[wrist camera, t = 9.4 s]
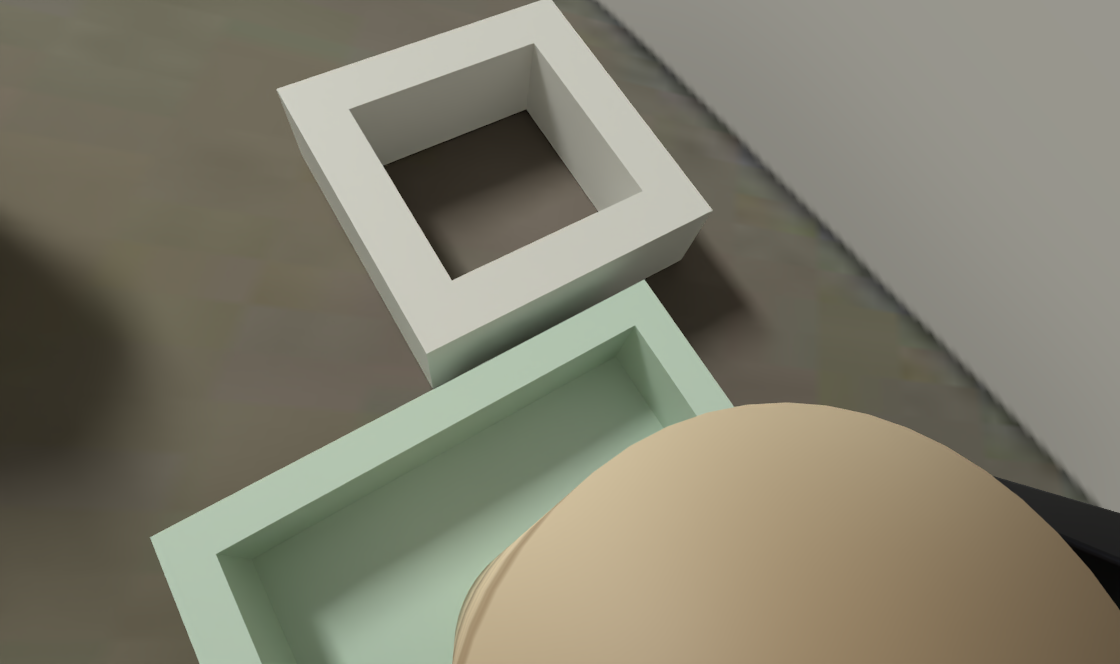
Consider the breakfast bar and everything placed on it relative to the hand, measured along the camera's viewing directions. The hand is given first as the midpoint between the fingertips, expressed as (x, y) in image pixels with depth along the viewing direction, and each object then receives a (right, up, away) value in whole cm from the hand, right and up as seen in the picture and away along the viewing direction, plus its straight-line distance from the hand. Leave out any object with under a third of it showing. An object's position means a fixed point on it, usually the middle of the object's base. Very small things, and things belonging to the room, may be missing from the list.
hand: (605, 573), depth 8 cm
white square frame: (-3, +7, +13) cm, 15 cm away
